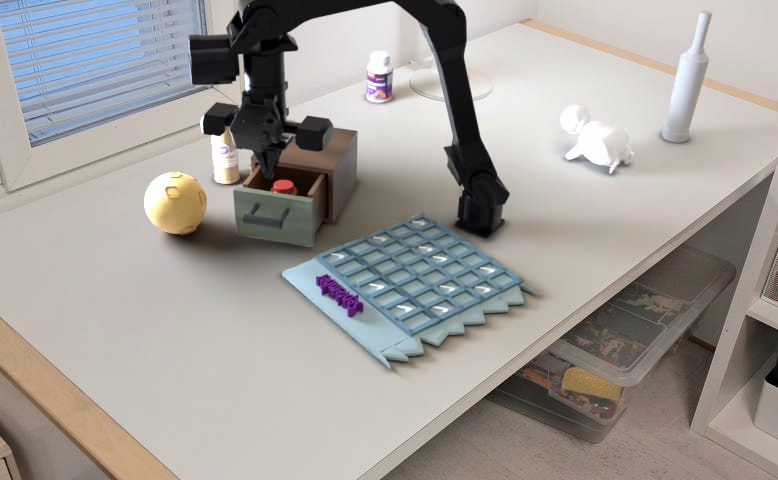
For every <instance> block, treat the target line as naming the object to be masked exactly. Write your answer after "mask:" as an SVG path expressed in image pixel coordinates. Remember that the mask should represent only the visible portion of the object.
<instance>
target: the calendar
mask: <svg viewBox="0 0 778 480" xmlns="http://www.w3.org/2000/svg"><path fill="white" fill-rule="evenodd" d="M281 274H282V277H283V278H284V279H285V280H286V281H288V282H289V283H290V284H291V285H292V286H293V287H295V289H297V290H298V291H299V292H300V293H301V294H302V295H303V296H305V297H306V298H307V299H308V300H309V301H310V302H312V304H314V305H315V306H316V307H317V308H319V309H320V310H321V311H322V312H323V313H324V314H325V315H326V316H328V317H329V318H330V319H331V320H332V321H333V322H334V323H336V324H337V325H338V326H339V327H340V328H341V329H342V330H344V331H345V332H346V333H347V334H348V335H349V336H350V337H352V338H353V339H354V340H355V341H356V342H357V343H359V344H360V345H361V346H362V347H363V348H364V349H365V350H367V351H368V352H369V353H370V354H371V355H372V356H373V357H375V358H376V359H378V360H379V361H380V362H381V363H382V364H383V365H385V366H386V367H387V368H388V369H389V370H391V367H392V366H391V364H390V363H389V361H388V360H390V361H391V360H393V361H399V362H409V360H410V359H409V357H411V356H412V357H413V356H421V355H424V353H425V350H424V347H423V344H422V342H425V343H428V344H430V345H433V346H435V347H439V346H441V344H442V343H443V342H444V341H445V339H446V338H447V337H448V336H451V335H452V336H453V335H464V334H465V333H466V329H465V325H468V326H469V325H485V324H486V318H485V314H493V313H495V314H496V313H508V312H509V311H510V307H509V306H511V305H513V306H514V305H524V304H525V298H524V297H523V293H522V290H524V291H526V292H529V293H531V294H533V295H535V296H538V295H539V293H538V291H536V290H534V288H532V287H530V286H529V285H527V284H526V283H525V279H524V278H523V277H521V276H520V275H518V274H517V273H515V272H514V271H512V270H510V269H509V268H508V267H506V266H505V265H503V264H502V263H500V262H498V261H497V260H495V259H494V258H493V257H491V256H490V255H488V254H486V253H485V252H483V251H482V250H481V249H479V248H477V247H476V246H474V244H471V243H470V242H469V241H467V240H465V239H464V238H463V237H461V236H460V235H458V234H457V233H455V232H453V231H452V230H451V229H449V228H448V227H446V226H445V225H443V224H441V223H439V221H437V220H436V219H434V218H432V217H431V216H429V215H428V214H426V213H425V212H422V213H419V214H416V215H414V216H410V217H409V218H407V219H403V220H401V221H399V222H396V223H394V224H392V225H389V226H386V227H383V228H381V229H379V230H377V231H374V232H371V233H369V234H367V235H364V236H361V237H359V238H357V239H354V240H352V241H351V240H350V241H349V242H346V243H343V244H341V245H339V246H336V247H334V248H332V249H329V250H326V251H323V252H321V253H319V254H316V255H314V256H313V258H312V259H310V260H307V261H304V262H302V263H300V264H298V265H295V266H292V267H290V268H287V269H284V270H282V271H281ZM521 289H522V290H521Z"/></svg>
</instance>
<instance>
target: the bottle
mask: <svg viewBox="0 0 778 480" xmlns="http://www.w3.org/2000/svg"><path fill="white" fill-rule="evenodd" d="M712 17H713V12H712V11H710V10H705V9H704V10H701V11H700V13H699V17H698V21H697V25H696V29H695V33H694V38H693V40H692V41H693V42H692V45H691V46H690V47H689V49H688V50H686V51H684V52H683V53H681V54H680V56H679V62H678V66H677V71H676V73H675V74H676V75H675V79H674V84H673V88H672V93H671V97H670V101H669V106H668V111H667V114H666V119H665V123H664V125H663V127H662V131H661V135H662V136H661V137H662V138H663V139H664V140H666V141H668V142H671V143H674V144H675V143H677V144H678V143H681V144H682V143H685V142H686V141H687V140H688V139H689V136H690V134H691V130H690V128H691V124H692V120H693V117H694V114H695V110H696V107H697V103H698V100H699V97H700V93H701V89H702V87H703V83H704V79H705V76H706V73H707V69H708V65H709V62H710V58H709V56H708V55H707V54H706V52H705V48H704V47H705V43H706V38H707V35H708V31H709V27H710V24H711V20H712Z"/></svg>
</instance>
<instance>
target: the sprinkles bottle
mask: <svg viewBox="0 0 778 480" xmlns="http://www.w3.org/2000/svg"><path fill="white" fill-rule="evenodd" d="M225 127H226V131H225V132H224V133H223V134H222V135H221V136H220V137H219V136H212V135H210V136H211V137H210V138H211V146H212V148H211V150H212V160H213V161H212V162H213V169H214V180H215V181H216V182H217V183H218V184H222V185H232V184H235V183H237V182H238V181H239V180H240V177H241V175H240V170H239V153H238V151H239V150H238V149H237V148H235V147H234V144H233V140H232V137H231V133H230V127H229V126H225Z"/></svg>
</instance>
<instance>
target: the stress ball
mask: <svg viewBox="0 0 778 480" xmlns="http://www.w3.org/2000/svg"><path fill="white" fill-rule="evenodd" d="M146 189H147V190H146V192H145V194H144V195H145V196H144V209H145V213H146V215H147V217H148V219H149V221H150V222H151V223H152V224H153V225H154V226H155V227H156V228H158V229H159V230H161V231H163V232H164V233H169V234H173V235H174V234H175V235H177V234H178V235H179V234H180V235H181V236H184V235H187V234H190V233H192V232H194V231H196V230H197V229H198V228H197V227H198V226H199V224H201V222H202V221H203V219H204V217H205V215H206V212H207V207H208V199H207V194H206V192H205V190H204V188H203V187H202V185H201V183H199V180H198V179H197V178H195V177H194V176H193V175H188V174H187V173H184V172H181V171H172V172H167V173H164V174H162V175H160V176H158V177H157V178H155V179H153V181H152V182H151V183H150V185H149V186H148V188H146Z"/></svg>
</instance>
